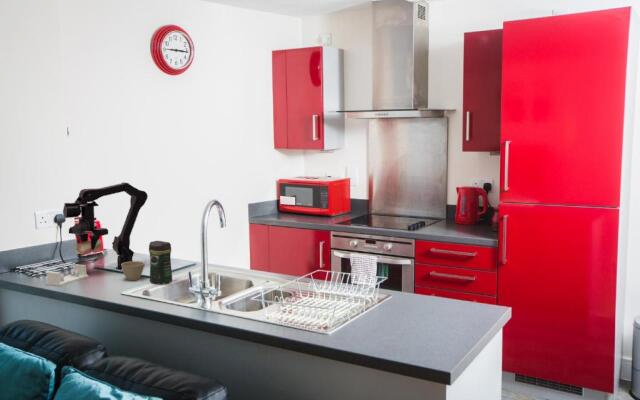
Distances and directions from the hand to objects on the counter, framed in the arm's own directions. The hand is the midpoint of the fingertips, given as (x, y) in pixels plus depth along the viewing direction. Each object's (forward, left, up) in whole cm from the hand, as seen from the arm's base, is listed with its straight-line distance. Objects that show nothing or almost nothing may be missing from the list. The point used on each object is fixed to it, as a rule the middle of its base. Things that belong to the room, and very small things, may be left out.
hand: (89, 249), depth 284 cm
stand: (0, +14, -12) cm, 18 cm away
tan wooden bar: (0, 0, -1) cm, 1 cm away
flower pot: (-26, +1, -12) cm, 28 cm away
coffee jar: (-41, +1, -12) cm, 42 cm away
